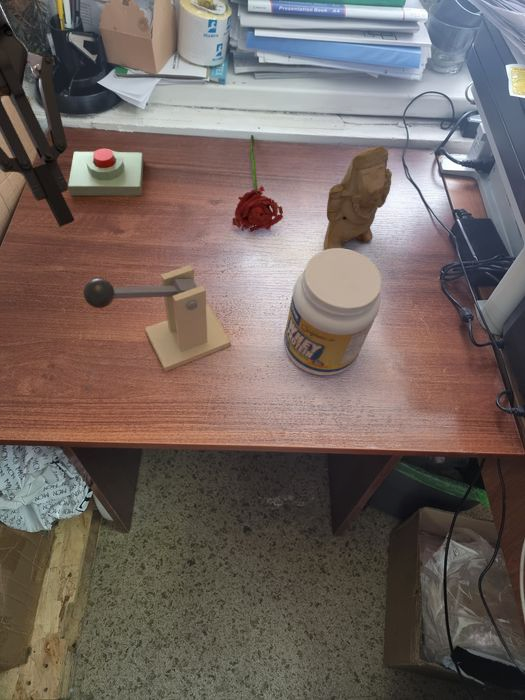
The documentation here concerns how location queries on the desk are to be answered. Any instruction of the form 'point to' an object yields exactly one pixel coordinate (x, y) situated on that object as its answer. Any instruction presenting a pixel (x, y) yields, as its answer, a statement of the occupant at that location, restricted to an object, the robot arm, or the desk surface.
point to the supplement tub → (332, 311)
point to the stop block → (106, 175)
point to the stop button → (103, 158)
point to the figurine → (358, 198)
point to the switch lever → (130, 291)
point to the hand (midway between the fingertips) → (66, 223)
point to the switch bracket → (186, 325)
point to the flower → (256, 207)
